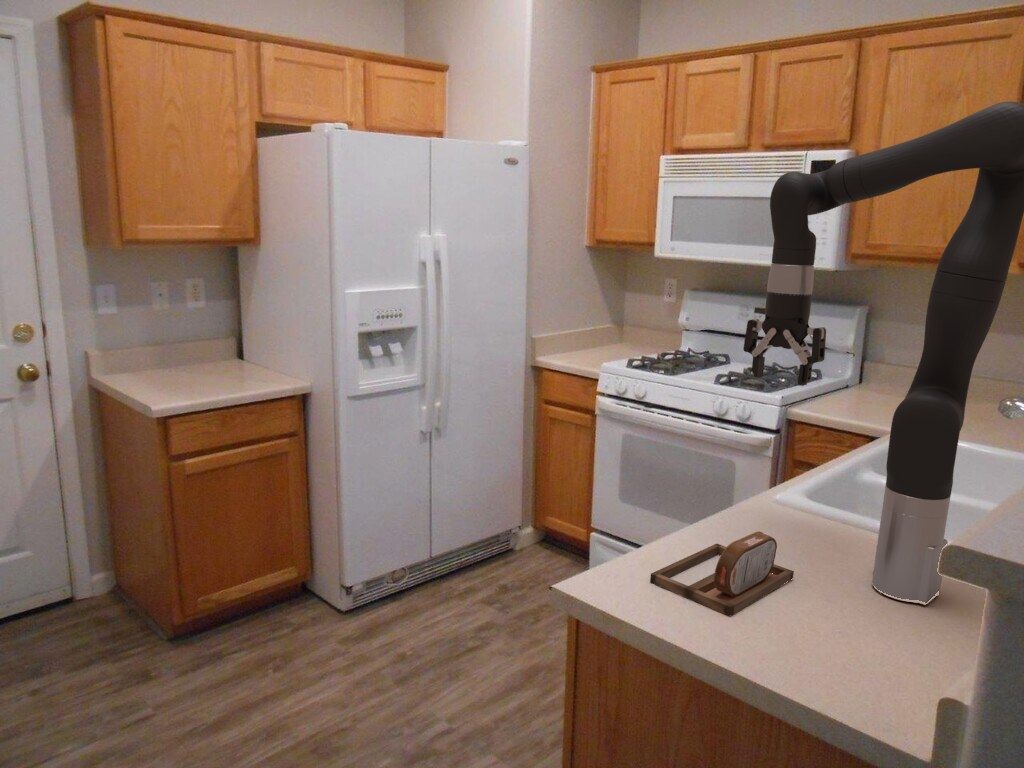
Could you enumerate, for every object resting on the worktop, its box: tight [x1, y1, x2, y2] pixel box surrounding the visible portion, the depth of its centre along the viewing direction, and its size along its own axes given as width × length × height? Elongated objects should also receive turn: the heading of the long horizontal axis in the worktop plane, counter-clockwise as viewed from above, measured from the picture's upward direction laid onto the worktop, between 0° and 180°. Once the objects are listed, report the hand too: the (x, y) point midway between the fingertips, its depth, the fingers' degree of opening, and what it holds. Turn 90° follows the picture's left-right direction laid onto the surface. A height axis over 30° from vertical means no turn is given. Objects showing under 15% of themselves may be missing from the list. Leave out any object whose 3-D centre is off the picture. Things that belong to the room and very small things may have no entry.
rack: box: [649, 543, 795, 617], centre depth 129 cm, size 15×20×2 cm
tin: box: [714, 530, 778, 596], centre depth 125 cm, size 15×3×8 cm, turn 133°
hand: (779, 381), depth 141 cm, fingers open, 8 cm apart
